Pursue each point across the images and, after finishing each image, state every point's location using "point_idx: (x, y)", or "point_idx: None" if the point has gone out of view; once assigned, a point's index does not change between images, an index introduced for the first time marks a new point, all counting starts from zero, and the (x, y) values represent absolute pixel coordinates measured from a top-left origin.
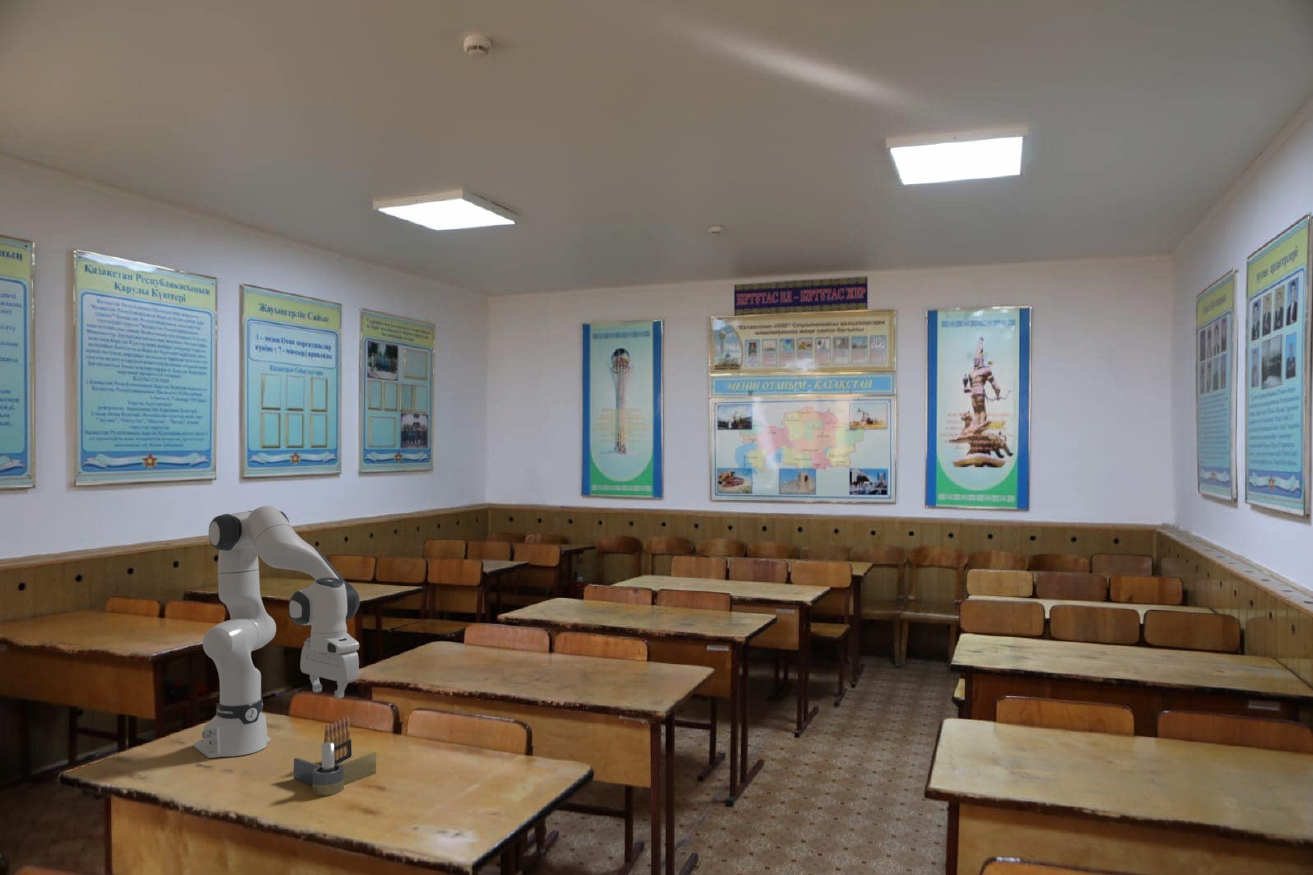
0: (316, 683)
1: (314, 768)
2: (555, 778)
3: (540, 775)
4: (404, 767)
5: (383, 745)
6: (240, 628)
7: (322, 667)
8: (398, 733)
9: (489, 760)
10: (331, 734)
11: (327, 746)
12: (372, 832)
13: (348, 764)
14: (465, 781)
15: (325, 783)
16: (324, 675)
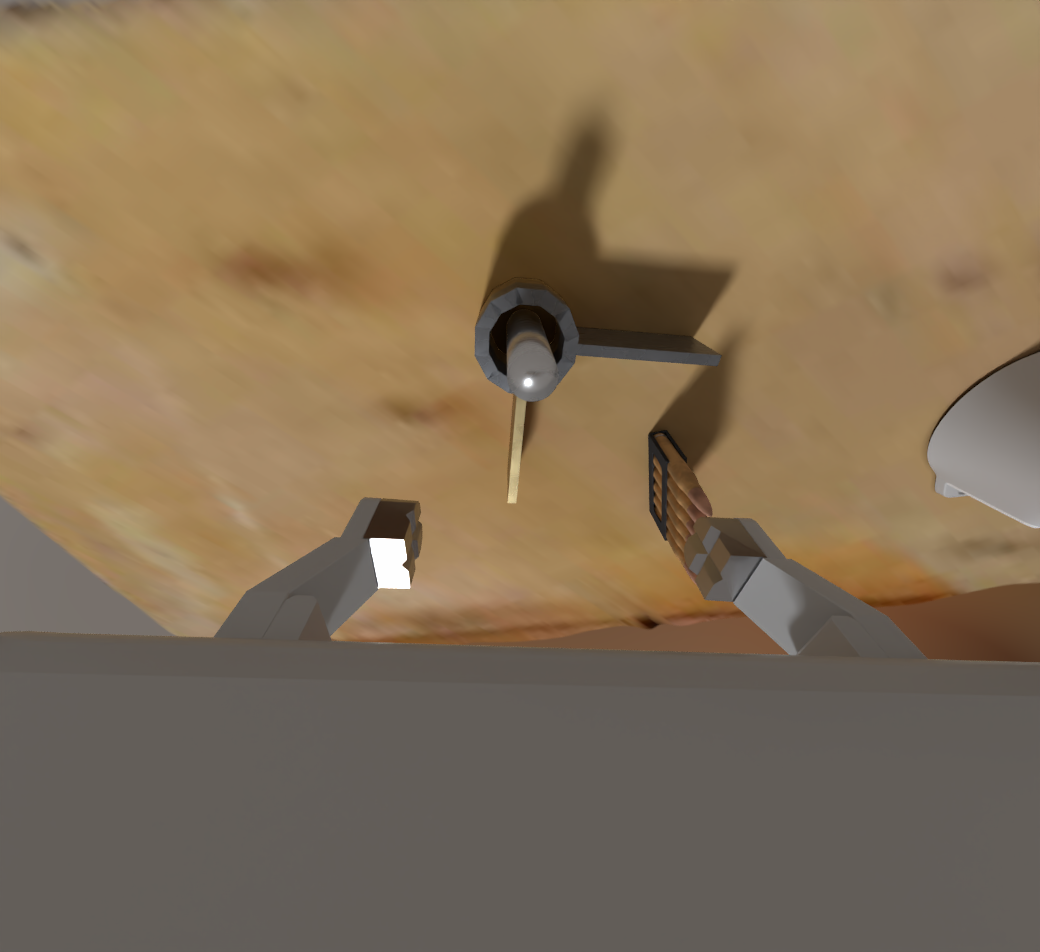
0: (761, 589)
1: (597, 342)
2: (173, 601)
3: (209, 599)
4: (478, 520)
5: (626, 575)
6: None
7: (660, 884)
8: (645, 620)
9: (362, 606)
10: (686, 504)
11: (514, 356)
12: (56, 127)
13: (514, 415)
14: (287, 525)
15: (491, 296)
16: (552, 687)
